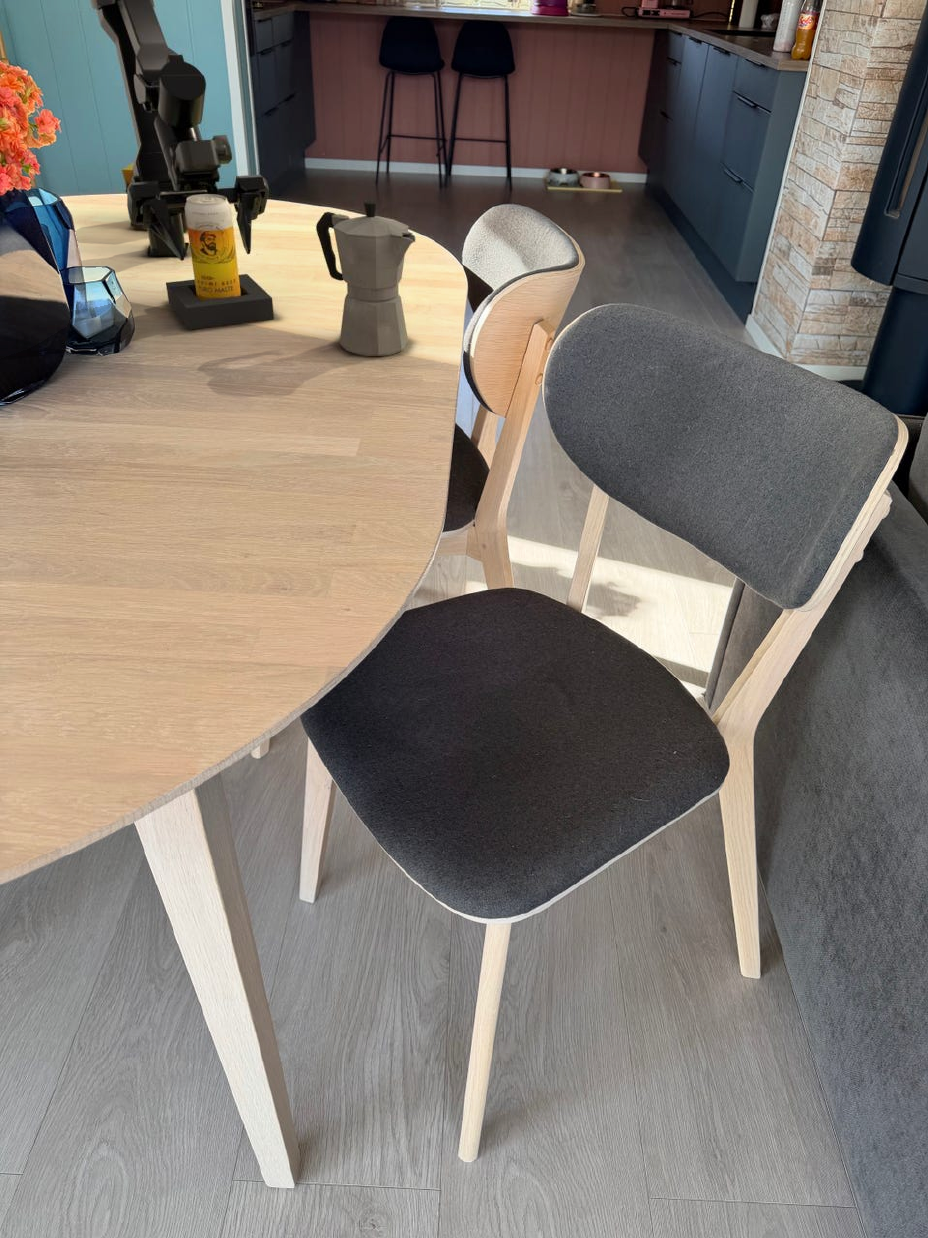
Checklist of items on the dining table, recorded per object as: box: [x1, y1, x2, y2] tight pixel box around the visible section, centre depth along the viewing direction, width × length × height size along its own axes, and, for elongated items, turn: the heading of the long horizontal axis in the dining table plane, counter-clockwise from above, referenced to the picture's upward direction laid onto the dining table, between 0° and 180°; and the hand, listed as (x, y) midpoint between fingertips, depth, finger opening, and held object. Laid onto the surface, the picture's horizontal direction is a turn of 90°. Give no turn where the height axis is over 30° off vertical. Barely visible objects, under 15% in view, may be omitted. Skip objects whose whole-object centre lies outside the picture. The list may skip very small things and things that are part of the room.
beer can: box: [185, 194, 241, 300], centre depth 125 cm, size 6×6×15 cm
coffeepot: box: [315, 199, 417, 357], centre depth 116 cm, size 15×9×18 cm, turn 57°
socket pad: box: [165, 273, 275, 331], centre depth 128 cm, size 12×12×3 cm
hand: (216, 255), depth 123 cm, fingers open, 9 cm apart
